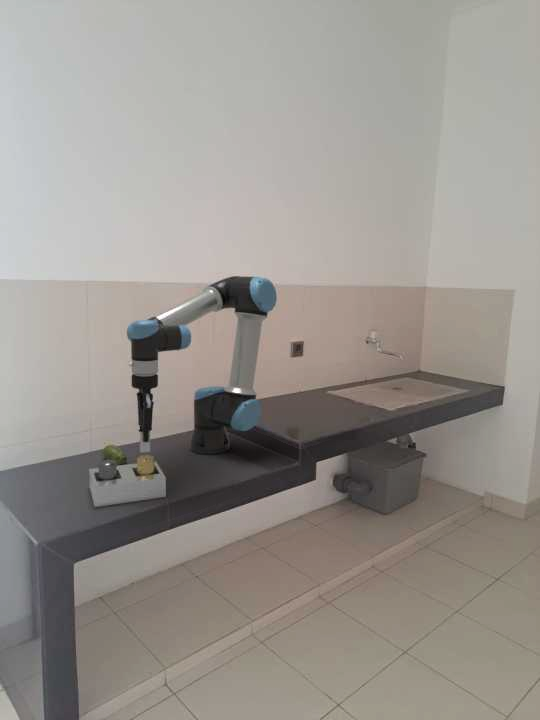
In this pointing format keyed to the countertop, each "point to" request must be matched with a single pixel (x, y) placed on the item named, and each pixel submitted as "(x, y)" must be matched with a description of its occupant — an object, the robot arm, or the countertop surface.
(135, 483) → the block
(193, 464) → the countertop surface
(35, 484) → the countertop surface
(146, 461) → the yellow piece
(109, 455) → the pear
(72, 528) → the countertop surface
